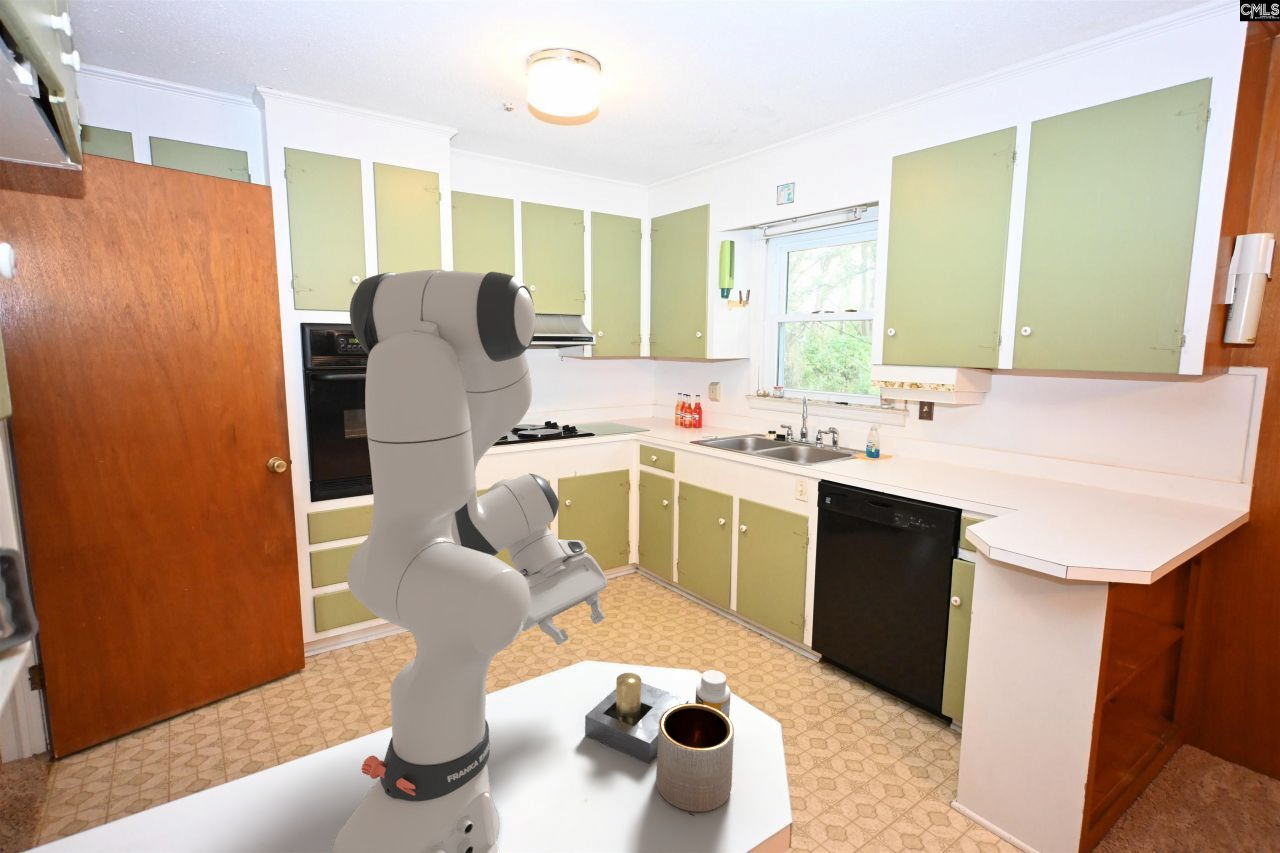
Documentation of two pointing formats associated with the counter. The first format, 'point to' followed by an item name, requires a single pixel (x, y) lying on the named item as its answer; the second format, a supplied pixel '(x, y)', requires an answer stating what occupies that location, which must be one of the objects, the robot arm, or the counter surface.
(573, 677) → the counter surface
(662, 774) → the planter
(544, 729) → the counter surface
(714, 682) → the supplement bottle
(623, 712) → the gold round-topped cylinder
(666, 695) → the jig plate
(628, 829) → the counter surface
